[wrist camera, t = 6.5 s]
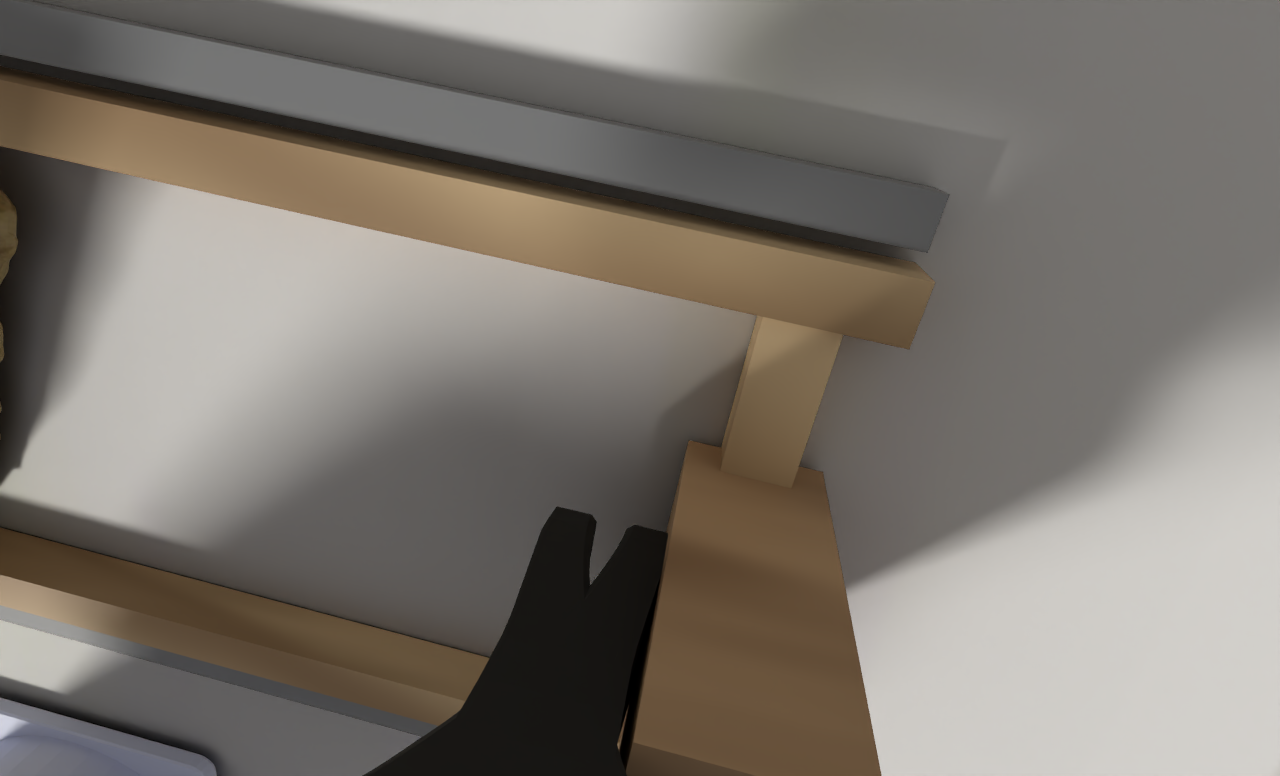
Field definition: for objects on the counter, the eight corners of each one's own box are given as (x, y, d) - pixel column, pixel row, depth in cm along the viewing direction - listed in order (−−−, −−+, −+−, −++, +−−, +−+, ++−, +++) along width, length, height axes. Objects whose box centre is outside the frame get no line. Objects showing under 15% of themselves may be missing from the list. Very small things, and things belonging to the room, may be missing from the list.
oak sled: (733, 755, 15) (721, 1153, 9) (-233, 494, 16) (-742, 696, 11) (914, 262, 10) (1131, 472, 4) (-489, -39, 12) (-1655, -171, 6)
